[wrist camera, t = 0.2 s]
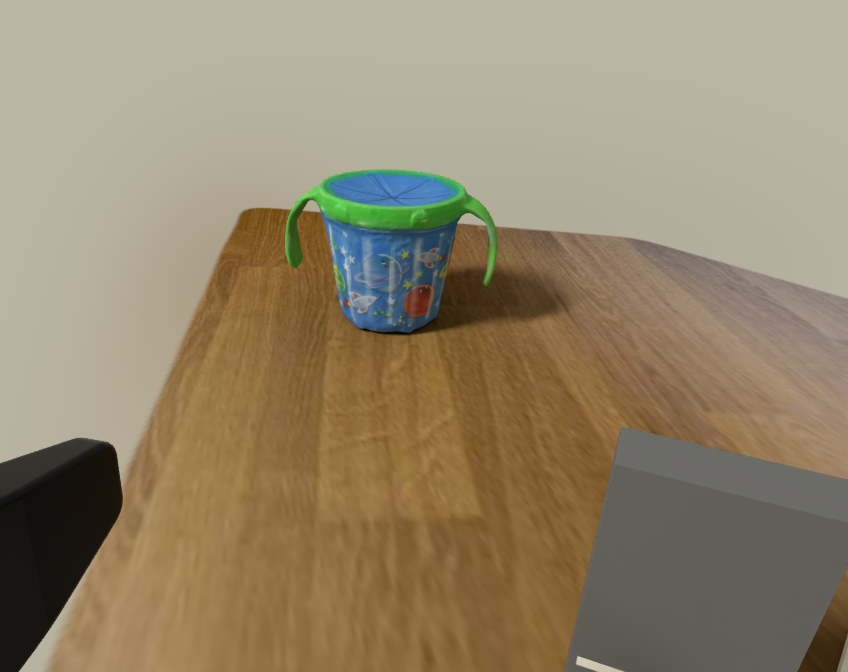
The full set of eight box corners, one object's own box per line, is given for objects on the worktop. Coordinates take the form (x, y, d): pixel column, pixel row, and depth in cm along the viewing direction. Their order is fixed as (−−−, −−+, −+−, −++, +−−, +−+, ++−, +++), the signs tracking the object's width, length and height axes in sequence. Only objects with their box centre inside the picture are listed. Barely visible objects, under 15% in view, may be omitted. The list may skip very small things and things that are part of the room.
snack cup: (265, 328, 48) (257, 190, 43) (319, 277, 57) (317, 158, 53) (476, 363, 45) (491, 219, 40) (497, 303, 54) (512, 180, 50)
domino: (705, 863, 19) (866, 528, 13) (536, 795, 21) (614, 464, 15) (704, 807, 21) (849, 480, 15) (546, 746, 22) (620, 425, 16)
